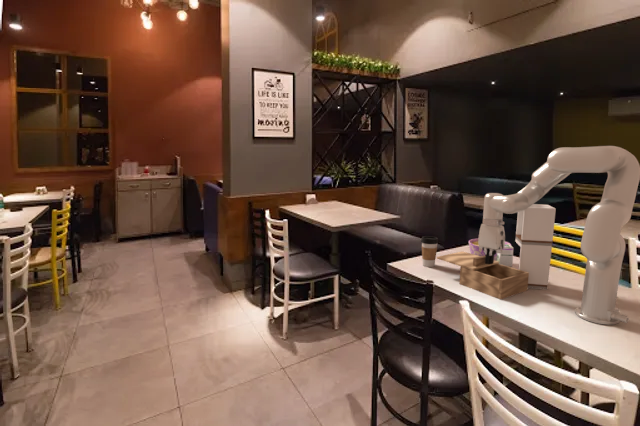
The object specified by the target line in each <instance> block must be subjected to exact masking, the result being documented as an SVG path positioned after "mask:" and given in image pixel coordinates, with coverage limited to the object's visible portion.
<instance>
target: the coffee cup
mask: <svg viewBox="0 0 640 426" xmlns="http://www.w3.org/2000/svg"><path fill="white" fill-rule="evenodd" d="M420 241H421V258H422V259H421V261H422V266H423V267H426V268H433V267H435V265H436V259H437V251H438V243H439V240H438V237H437V236H432V235H431V236H429V235H425V236H423V235H422V236H421V240H420Z"/></svg>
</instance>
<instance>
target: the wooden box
mask: <svg viewBox="0 0 640 426" xmlns="http://www.w3.org/2000/svg"><path fill="white" fill-rule="evenodd" d="M459 267H460V268H459V269H460V270H459V285H461V286H464V287H467V288H469V289H471V288H472V290H475V291H477V292H480V293H482V294H485V295H488V296H491V297H493V298H495V299H498V300H503V299H506V298H509V297H512V296H515V295H519V294H522V293H525V292H527V291H528V289H529V288H528V277H529V272H525V271H522V270H519V268H515V267H513V266H512V267H508V266H505V265H501V264H495V265H491V266H487V267H483V268H479V269H476V270H470V269H467V268H464V267H461V266H459Z"/></svg>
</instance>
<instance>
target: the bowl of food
mask: <svg viewBox="0 0 640 426" xmlns="http://www.w3.org/2000/svg"><path fill="white" fill-rule="evenodd" d="M478 238H479V237H478ZM478 238H472V239H469V240H468V246H469V253H470V254H474V255H477V256H485V254H484V251H483V249H481V248H479V244H478ZM505 244H508V245H511V246H512V244H511V243H510V242H509V241H505ZM494 260H495V261H497V253H496V254H495V255H494Z"/></svg>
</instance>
